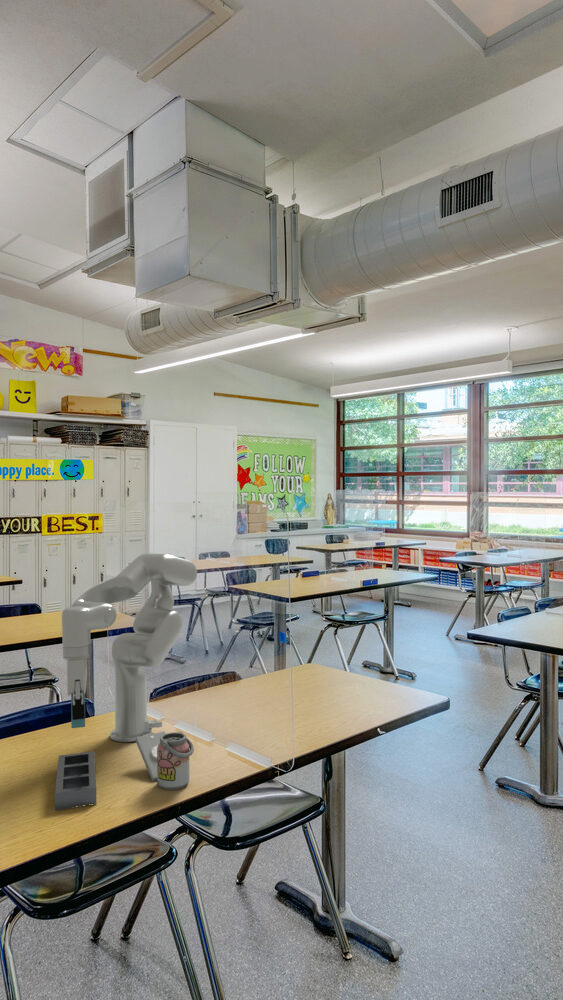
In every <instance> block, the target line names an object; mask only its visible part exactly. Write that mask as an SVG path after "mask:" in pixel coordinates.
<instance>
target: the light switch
mask: <svg viewBox="0 0 563 1000" xmlns="http://www.w3.org/2000/svg"><path fill="white" fill-rule="evenodd" d="M164 734H167V733H166V731H160V732H154V733H152V734H149V735H145V736H140V737H136V740H135V741H134V742H135V743H136V746H137V748H138V751H139V753H140V755H141V758H142V760H143V762H144V764H145V767H146V769H147V772H148V774H149V777H150V779H151V781H152V782H157V747H158V745H159V743H160V737H161V736H162V735H164Z"/></svg>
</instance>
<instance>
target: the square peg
mask: <svg viewBox="0 0 563 1000" xmlns="http://www.w3.org/2000/svg"><path fill="white" fill-rule="evenodd" d="M80 693H82V691H80ZM74 694H76V693H75V692H74ZM80 697H81V696H80ZM75 698H76V696H75ZM70 702H71V703H70V706H71V707H70V710H71V713H70V714H71V715H70V716H71V719H70V721H71V727H70V728H71V729H78V728H80V729H81V728H85V727H86V717H85V718H84V719H78V720H73V717H72V705H73V693H72V694H71V695H70ZM83 704H84V710H85V711H86V693H85V694H83Z"/></svg>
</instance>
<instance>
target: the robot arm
mask: <svg viewBox="0 0 563 1000" xmlns="http://www.w3.org/2000/svg"><path fill="white" fill-rule="evenodd" d="M197 576H198V570H197V567H196V564H195V563H193V562H192V561H191V560H189V559H186V558H182V557H178V556H175V555H171V554H167V553H147V552H146V553H141V554H139V556H137V557H136V558H135V559H133V560H132V561H131V562H130V563H129V564H128V565H127V566H126V567H125V568H124V569H123V570H121V572H119V573H118V574H117V575H116V576H115V577H111V578H110V579H107V580H105V581H104V582H102V583H99V584H96V585H95V586H93V587H91V588H88V590H86V591H85V592H83V594H81V595H80V596H79V597H78V598H77V599H76V600H74V602H73V603H72V604H71V606H69V607H66V608H64V609H63V610H62V612H61V633H62V634H61V635H62V658H63V659H64V660H66V690H67V691H66V693H67V694H66V695H67V696H69V697H71V694H72V693H73V705H72V717H73V720H78V719H84V718H85V719H86V709H85V710H84V704H83V694H85V695H86V692H87V677H88V675H87V674H88V672H87V671H88V664H87V663H88V661H87V660H88V658H89V657H91V656H92V646H91V643H92V641H91V631H94V630H104V629H107V628H110V627H111V626H112V625H113V624H114V623H115V621H116V619H117V610H116V609H115V607H114V606H113V605H112V604H115V603H119V602H124V601H128V600H131V599H133V598H135V597H136V596H137V595H138V594H139V593H140V592H141V591H142V590H143V589H144V588H145V587H146V586H147V585H148V584H149V583H150V591H151V592H150V595H149V597H148V598H147V600H146V602H145V603H144V605H143V606H142V607H141V609H140V611H139V612H138V613H137V614H136V616H135V618H134V620H133V624H132V629H133V631H134V632H126V633H125V632H124V633H121V634H118V635H117V636H116V637H115V639H113V641H112V645H111V656H112V661H113V667H114V679H115V680H114V682H115V684H114V685H115V687H114V690H115V691H114V694H115V697H114V702H115V703H114V705H115V718H114V719H115V721H114V722H115V725H114V726H115V727H114V729H113V730H111V731H110V735H109V737H110V739H111V740H113V741H115V742H120V743H131V742H136V741H135V740H136V737H140V736H145V735H149V734H153V730H152V729H155V728H156V729H157V728H163V722H162V720H157V719H153V720H150V719H149V718H148V715H147V714H148V713H147V712H148V711H147V709H148V708H147V706H148V704H147V695H148V694H147V692H148V691H147V684H148V683H147V674H146V670H145V667H147V668H155V667H158V666H160V665H161V664H162V663H163V661H164V660H165V659H166V658H167V656H168V655H169V653H170V651H171V649H172V648H173V646H174V644H175V643H176V641H177V640H178V638H179V636H180V634H181V631H182V625H183V619H182V616H181V615H180V613H179V612H178V611H176V610H174V609H173V607H174V605H175V598H174V595H173V592H172V588H171V586H179V587H180V586H182V587H187V586H191V585H192V584H193V583H195V581H196V580H197ZM80 691H82V693H80ZM74 692H75V693H76V694H74ZM75 696H76V698H75ZM80 696H81V697H80Z"/></svg>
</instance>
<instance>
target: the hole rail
mask: <svg viewBox="0 0 563 1000" xmlns="http://www.w3.org/2000/svg"><path fill="white" fill-rule="evenodd" d="M95 754H96V753H95V751H85V752H77V753H69V754H61V755H58V758H57V759H58V760H57V761H58V762H57V772H56V779H55V780H56V782H55V791H54V792H55V793H54V801H55V802H54V804H55V805H54V807H55V808H54V809H55V811H60V810H68V809H67V808H69V809H73V808H72V807H76V806H83V805H89V804H96V805H97V775H96V774H97V773H96V758H95ZM83 807H84V806H83ZM76 808H77V807H76Z"/></svg>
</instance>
